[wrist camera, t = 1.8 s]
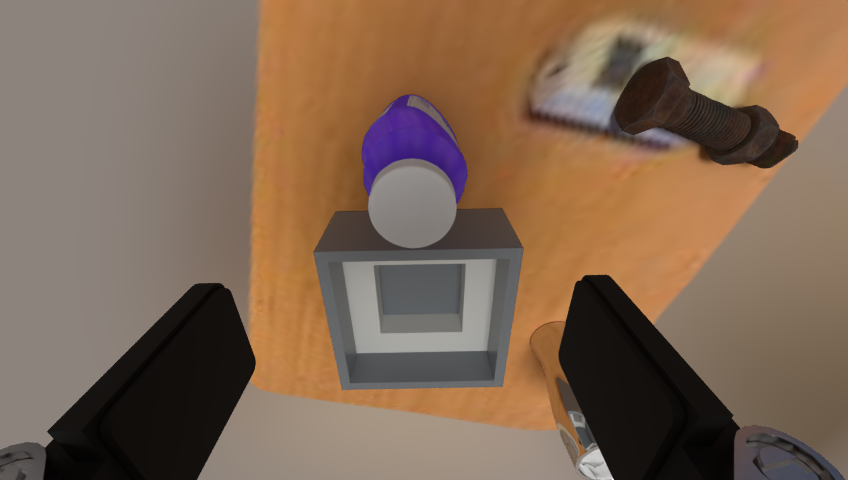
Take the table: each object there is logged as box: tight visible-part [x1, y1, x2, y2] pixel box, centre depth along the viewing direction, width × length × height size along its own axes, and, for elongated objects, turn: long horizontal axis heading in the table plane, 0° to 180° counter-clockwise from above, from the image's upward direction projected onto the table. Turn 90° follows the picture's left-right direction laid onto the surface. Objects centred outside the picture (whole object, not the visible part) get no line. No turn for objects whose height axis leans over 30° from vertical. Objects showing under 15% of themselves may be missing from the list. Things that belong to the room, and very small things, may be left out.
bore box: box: [314, 208, 524, 390], centre depth 34 cm, size 17×17×8 cm
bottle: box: [362, 95, 467, 248], centre depth 23 cm, size 7×6×17 cm
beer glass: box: [530, 322, 613, 480], centre depth 36 cm, size 7×7×15 cm
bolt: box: [615, 57, 798, 168], centre depth 28 cm, size 6×5×15 cm
